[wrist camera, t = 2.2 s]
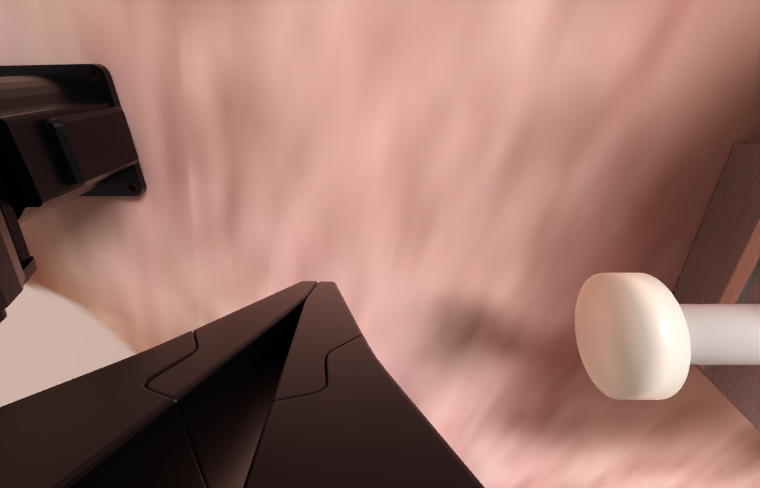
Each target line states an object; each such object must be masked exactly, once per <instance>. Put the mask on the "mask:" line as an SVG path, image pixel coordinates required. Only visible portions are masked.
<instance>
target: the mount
mask: <svg viewBox="0 0 760 488" xmlns="http://www.w3.org/2000/svg"><path fill="white" fill-rule="evenodd" d="M673 296H674V297H675V299H676V300H677V302H678V304H760V143H735V144H734V147H733V149H732V152H731V154H730V157H729V159H728V161H727V164H726V166H725V169H724V171H723V174H722V176H721V178H720V181H719V183H718V186H717V188H716V191H715V193H714V196H713V198H712V200H711V203H710V205H709V208H708V210H707V213H706V215H705V217H704V220H703V222H702V225H701V227H700V230H699V232H698V234H697V237H696V239H695V242H694V244H693V247H692V249H691V251H690V254H689V256H688V259H687V261H686V264H685V266H684V268H683V271H682V273H681V276H680V278H679V281H678V283H677V285H676V288H675V290H674V293H673ZM695 366H696V367H697V368H698V369H699V370H700V371H701V372H702V373H703V374H704V375H705V376H706V377H707V378H708V379H709V380H710V381H711V382H712V383H713V384H714V385H715V386H716V387H717V388H718V389H719V390H720V391H721V392H722V393H723V394H724V395H725V396H726V398H727V399H728V400H729V401H730V402H731V403H732V404H733V405H734V406H735V407H736V408H737V409H738V410H739V411H740V412H741V413H742V414H743V415H744V416H745V417H746V418H747V419H748V420H749V421H750V422H751V423H752V424H753V425H754V426H755V427H756V428H757V429H758V430H759V431H760V365H695Z"/></svg>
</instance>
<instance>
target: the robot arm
mask: <svg viewBox="0 0 760 488" xmlns="http://www.w3.org/2000/svg"><path fill="white" fill-rule="evenodd" d="M96 71H97V72H98V73H99V74H100V78H101V79H100V80H99V79H97V77H96V75H95V72H96ZM132 183H134V184H136V186H137V189H136V188H134V187H133V185H132ZM145 190H146V184H145V180H144V177H143V174H142V171H141V168H140V165H139V162H138V155H137V152H136V149H135V146H134V143H133V139H132V136H131V133H130V130H129V127H128V124H127V121H126V117H125V114H124V112H123V111H122V108H121V105H120V102H119V99H118V96H117V93H116V90H115V86H114V83H113V80H112V77H111V74H110V72H109V71H108V69H107V68H106V67H104V66H103V65H100V64H68V65H21V66H0V323H1V321H3V320H4V319H5V318H6V317H7V313H6V311H5V308H6V307H8V306H9V305H10V304H11V303H12V301H13V300H14V299H15V298H16V297H17V296H18V295H19V294H20V293H21V291H22V290H23V286H24V284H25V283H26V282H27V280H28V279H29V278H30V277H31V276H32V274H33V273H34V272H35V271H36V270H37V265H36V262H35V259H34V257H33V256H30V254H29V251H28V249H27V246H26V243H25V240H24V237H23V234H22V231H21V228H20V225H19V223H21V222H23V221H25V220H27V219H29V218H32V217H34V216H36V215H38V214H40V213H43V212H45V211H47V210H49V209H51V208H53V207H56V206H58V205H60V204H62V203H64V202H66V201H69V200H71V199H73V198H75V197H77V196H136V195H139V194H141V193H143V192H144V191H145ZM0 488H484V486H483V485H482V484H481V483H480V482H479V480H478V479H477V478H476V477H475V476H474V474H473V473H472V472H471V471H470V470H469V468H468V467H467V466H466V465H465V464H464V462H463V461H462V460H461V459H460V458H459V457H458V455H457V454H456V453H455V452H454V451H453V449H452V448H451V447H450V446H449V445H448V443H447V442H446V441H445V440H444V439H443V437H442V436H441V435H440V434H439V433H438V432H437V430H436V429H435V428H434V427H433V426H432V424H431V423H430V422H429V421H428V420H427V418H426V417H425V416H424V415H423V414H422V412H421V411H420V410H419V409H418V408H417V406H416V405H415V404H414V403H413V402H412V401H411V399H410V398H409V397H408V396H407V395H406V393H405V392H404V391H403V390H402V389H401V387H400V386H399V385H398V384H397V383H396V381H395V380H394V379H393V378H392V377H391V376H390V374H389V373H388V372H387V371H386V369H385V368H384V367H383V366H382V364H381V363H380V362H379V360H378V359H377V358H376V356H375V355H374V353H373V351H372V350H371V348H370V346H369V345H368V343H367V341H366V339H365V337H364V336H363V334H362V332H361V331H360V329H359V327H358V325H357V323H356V321H355V319H354V317H353V316H352V314H351V312H350V310H349V308H348V306H347V304H346V302H345V301H344V299H343V297H342V295H341V293H340V291H339V289H338V287H337V285H336V284H335V283H334V282H319V283H317V282H316V281H302V282H299V283H297V284H295V285H293V286H291V287H288V288H286V289H284V290H282V291H280V292H277V293H275V294H273V295H271V296H268V297H266V298H264V299H262V300H260V301H257V302H255V303H253V304H251V305H249V306H246V307H244V308H242V309H240V310H238V311H235V312H233V313H231V314H229V315H227V316H224V317H222V318H220V319H218V320H215V321H213V322H211V323H209V324H207V325H204V326H202V327H200V328H198V329H196V330H194V332H192V331H190V332H187V333H185V334H183V335H181V336H179V337H176V338H174V339H172V340H169V341H167V342H165V343H163V344H160V345H158V346H156V347H153V348H151V349H149V350H146V351H144V352H141V353H139V354H136V355H134V356H131V357H129V358H126V359H124V360H121V361H119V362H116V363H113V364H111V365H108V366H106V367H103V368H100V369H98V370H95V371H93V372H90V373H88V374H85V375H82V376H80V377H77V378H75V379H72V380H69V381H67V382H64V383H62V384H59V385H57V386H54V387H51V388H49V389H46V390H44V391H41V392H39V393H36V394H34V395H31V396H28V397H26V398H23V399H20V400H18V401H15V402H13V403H10V404H8V405H5V406H2V407H0Z"/></svg>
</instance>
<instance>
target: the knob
mask: <svg viewBox="0 0 760 488" xmlns="http://www.w3.org/2000/svg"><path fill="white" fill-rule="evenodd" d="M575 334H576V340H577V346H578V350H579V353H580V357H581V360H582V362H583V365H584V367H585V369H586V371H587V373H588V375H589V377H590V378H591V380H592V381H593V383H594V384H595V385H596V387H597V388H598V389H599V390H600V391H601V392H602V393H604V394H605V395H607V396H608V397H610V398H613V399H619V400H663V399H667V398H669V397H672V396H673V395H674V394H676V393H677V392H678V391H679V390H680V389H681V387H682V386H683V384H684V382H685V380H686V378H687V375H688V371H689V367H690V365H760V304H678V302H677V300H676V299H675V297H674V296H673V294H672V293H671V292H670V290H669V289H668V288H667V287H666V286H665V285H664V284H663V283H662V282H661V281H659V280H658V279H656V278H655V277H653V276H651V275H648V274H645V273H597V274H594V275H592V276H590V277H589V278H588V279H587V280H586V281H585V283H584V284H583V286H582V287H581V290H580V292H579V295H578V298H577V302H576V308H575Z"/></svg>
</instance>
